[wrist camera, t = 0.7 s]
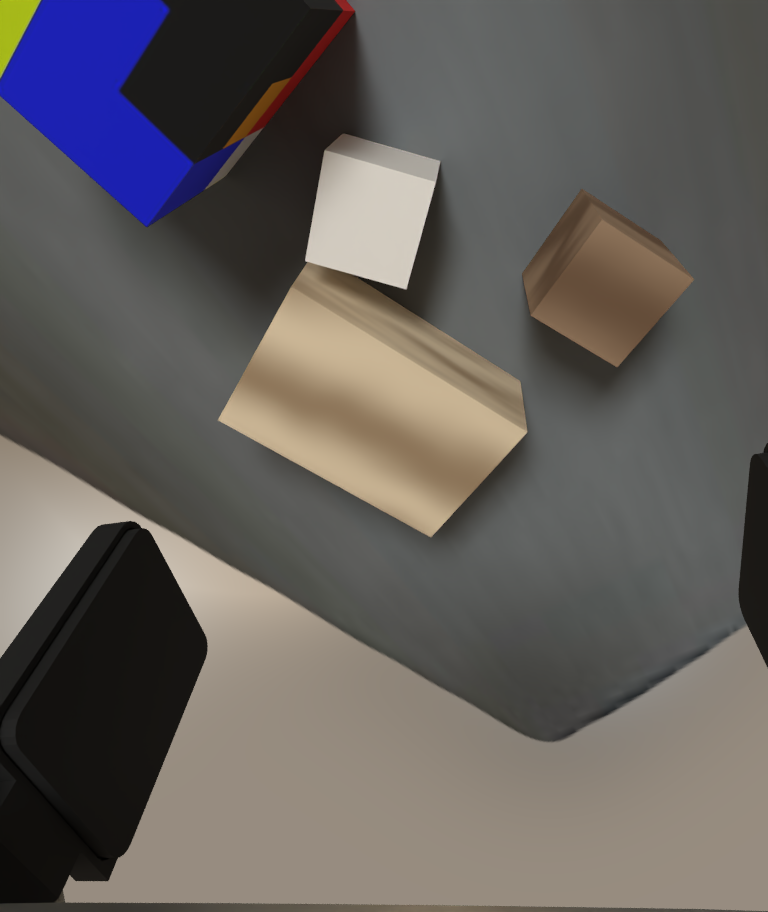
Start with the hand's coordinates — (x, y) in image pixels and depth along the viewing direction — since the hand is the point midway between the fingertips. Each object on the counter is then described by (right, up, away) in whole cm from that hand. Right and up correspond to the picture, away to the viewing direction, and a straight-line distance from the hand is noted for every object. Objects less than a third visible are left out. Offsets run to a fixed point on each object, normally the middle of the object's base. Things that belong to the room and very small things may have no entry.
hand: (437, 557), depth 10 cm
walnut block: (+10, +12, +24) cm, 29 cm away
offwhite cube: (-1, +15, +23) cm, 28 cm away
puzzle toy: (-9, +22, +20) cm, 31 cm away
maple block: (-1, +7, +29) cm, 30 cm away
